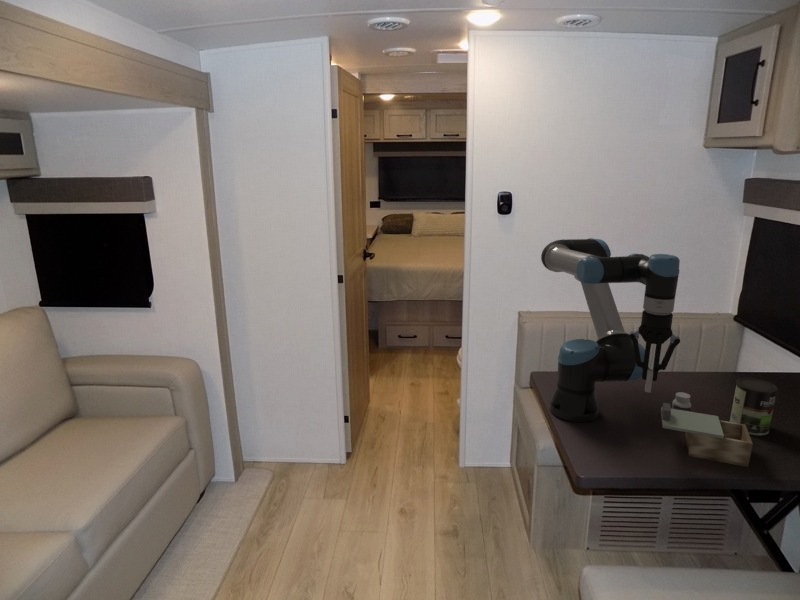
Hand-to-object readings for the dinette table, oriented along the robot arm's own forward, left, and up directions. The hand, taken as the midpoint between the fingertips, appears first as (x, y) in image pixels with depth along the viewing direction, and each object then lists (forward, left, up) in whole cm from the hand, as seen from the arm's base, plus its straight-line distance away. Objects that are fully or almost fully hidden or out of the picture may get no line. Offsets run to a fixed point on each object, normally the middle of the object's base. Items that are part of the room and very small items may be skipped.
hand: (647, 390), depth 149 cm
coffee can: (+30, +19, -16) cm, 39 cm away
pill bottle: (+11, +15, -16) cm, 24 cm away
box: (+19, 0, -15) cm, 24 cm away
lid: (+12, 0, -8) cm, 14 cm away
